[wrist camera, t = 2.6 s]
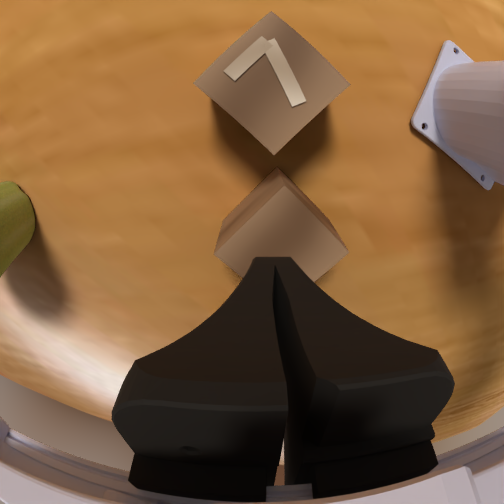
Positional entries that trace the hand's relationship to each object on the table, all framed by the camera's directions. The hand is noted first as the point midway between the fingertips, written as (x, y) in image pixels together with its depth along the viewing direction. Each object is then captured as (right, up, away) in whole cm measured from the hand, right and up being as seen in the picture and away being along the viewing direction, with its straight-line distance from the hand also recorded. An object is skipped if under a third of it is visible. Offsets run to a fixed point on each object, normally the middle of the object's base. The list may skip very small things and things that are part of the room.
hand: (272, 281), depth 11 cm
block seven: (0, +11, +5) cm, 12 cm away
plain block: (+1, +3, +9) cm, 10 cm away
